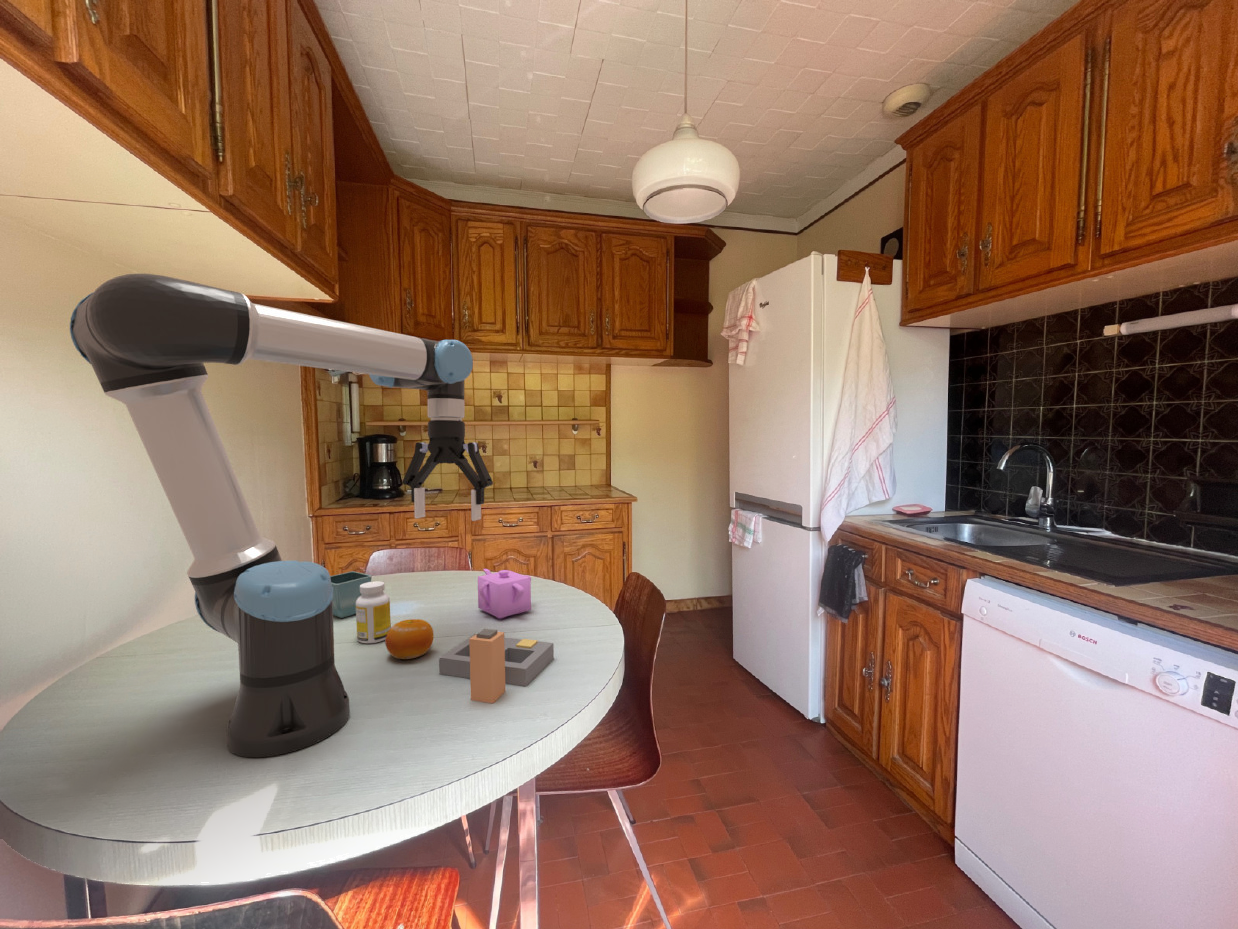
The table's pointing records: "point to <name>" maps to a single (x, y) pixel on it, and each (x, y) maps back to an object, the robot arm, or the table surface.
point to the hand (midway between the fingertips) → (447, 518)
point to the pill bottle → (372, 613)
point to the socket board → (519, 660)
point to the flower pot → (347, 592)
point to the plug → (487, 665)
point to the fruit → (409, 638)
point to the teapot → (504, 593)
